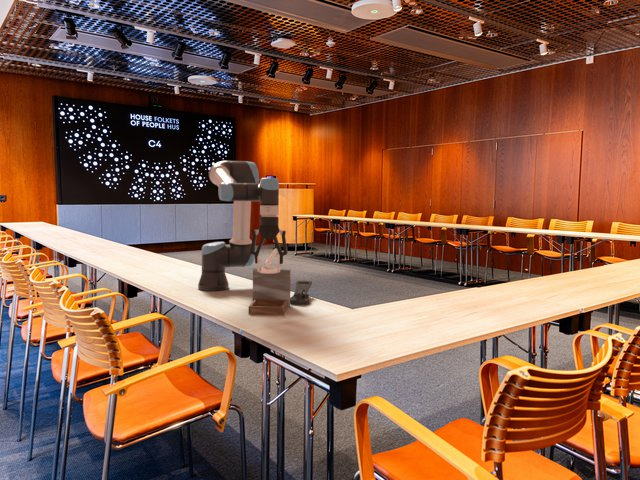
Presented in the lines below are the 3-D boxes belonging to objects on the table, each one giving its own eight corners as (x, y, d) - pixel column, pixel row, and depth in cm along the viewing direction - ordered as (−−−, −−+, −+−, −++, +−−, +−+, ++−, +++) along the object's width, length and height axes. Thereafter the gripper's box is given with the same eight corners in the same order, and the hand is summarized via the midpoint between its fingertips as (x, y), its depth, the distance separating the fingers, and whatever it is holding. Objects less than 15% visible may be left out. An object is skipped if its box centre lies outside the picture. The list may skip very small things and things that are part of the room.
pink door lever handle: (289, 261, 192) (275, 251, 190) (271, 283, 194) (257, 274, 193) (288, 255, 199) (275, 245, 198) (272, 277, 202) (258, 268, 200)
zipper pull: (313, 280, 233) (308, 290, 208) (313, 294, 234) (308, 305, 209) (295, 280, 234) (288, 290, 209) (295, 293, 235) (288, 305, 210)
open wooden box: (253, 304, 208) (253, 268, 207) (290, 305, 208) (290, 269, 206) (245, 314, 192) (246, 274, 190) (285, 315, 191) (286, 275, 190)
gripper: (242, 216, 192) (242, 272, 193) (293, 216, 191) (292, 273, 193) (246, 215, 199) (246, 269, 201) (295, 216, 198) (294, 270, 200)
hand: (268, 271), depth 197 cm, fingers closed on pink door lever handle, 8 cm apart
